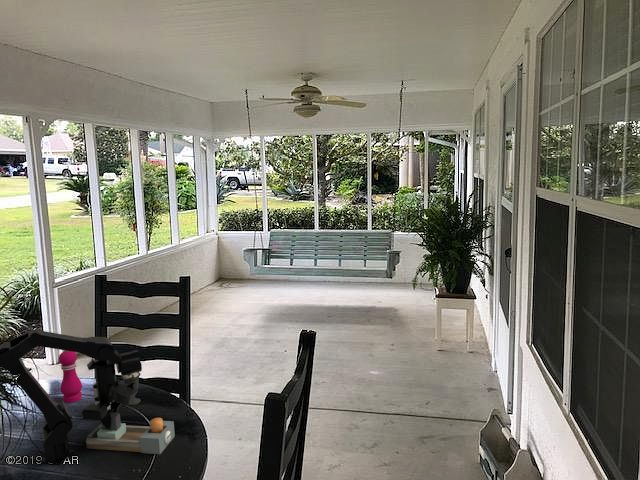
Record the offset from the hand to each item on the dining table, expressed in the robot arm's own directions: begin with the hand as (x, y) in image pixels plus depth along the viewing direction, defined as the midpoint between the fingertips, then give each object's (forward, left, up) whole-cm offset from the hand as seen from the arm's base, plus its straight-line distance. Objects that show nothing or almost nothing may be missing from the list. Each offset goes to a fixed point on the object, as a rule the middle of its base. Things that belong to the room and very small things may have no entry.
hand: (111, 426), depth 162 cm
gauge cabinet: (0, -15, -5) cm, 16 cm away
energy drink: (+15, +12, -5) cm, 20 cm away
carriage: (0, 0, -3) cm, 3 cm away
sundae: (+25, +7, -5) cm, 26 cm away
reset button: (0, -15, -1) cm, 15 cm away
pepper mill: (+25, +31, -5) cm, 40 cm away
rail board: (0, -3, -5) cm, 6 cm away
